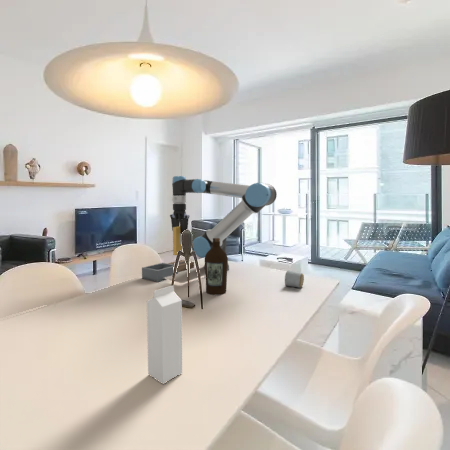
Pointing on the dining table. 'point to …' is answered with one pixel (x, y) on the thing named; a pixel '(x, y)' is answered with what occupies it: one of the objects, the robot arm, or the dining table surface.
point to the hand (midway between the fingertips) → (179, 243)
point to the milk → (164, 334)
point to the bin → (157, 272)
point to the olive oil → (216, 269)
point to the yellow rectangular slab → (176, 240)
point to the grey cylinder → (294, 279)
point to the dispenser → (183, 265)
